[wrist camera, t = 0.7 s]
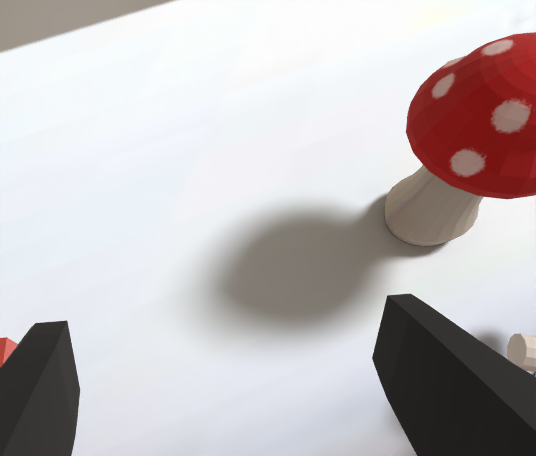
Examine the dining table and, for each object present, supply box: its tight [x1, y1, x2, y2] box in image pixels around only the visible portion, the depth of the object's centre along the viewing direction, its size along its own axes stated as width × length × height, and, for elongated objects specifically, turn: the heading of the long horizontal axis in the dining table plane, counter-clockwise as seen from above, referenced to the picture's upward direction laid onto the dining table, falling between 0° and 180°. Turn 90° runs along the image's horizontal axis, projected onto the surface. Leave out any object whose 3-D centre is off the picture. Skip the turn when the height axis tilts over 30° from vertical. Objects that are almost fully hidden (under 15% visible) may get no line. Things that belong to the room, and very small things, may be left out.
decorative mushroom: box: [385, 32, 536, 246], centre depth 27 cm, size 10×9×15 cm
